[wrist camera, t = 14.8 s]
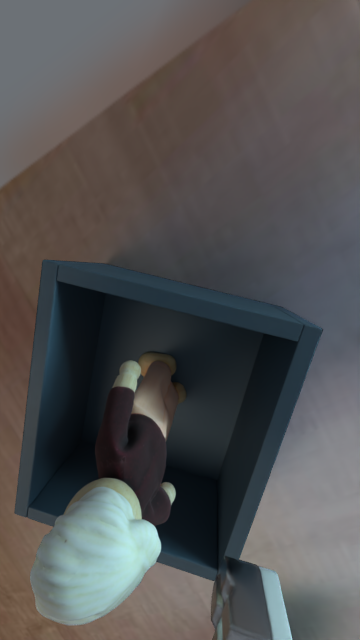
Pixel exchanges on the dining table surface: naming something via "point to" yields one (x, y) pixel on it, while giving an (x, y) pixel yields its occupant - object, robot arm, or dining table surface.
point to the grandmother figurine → (114, 502)
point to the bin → (190, 416)
